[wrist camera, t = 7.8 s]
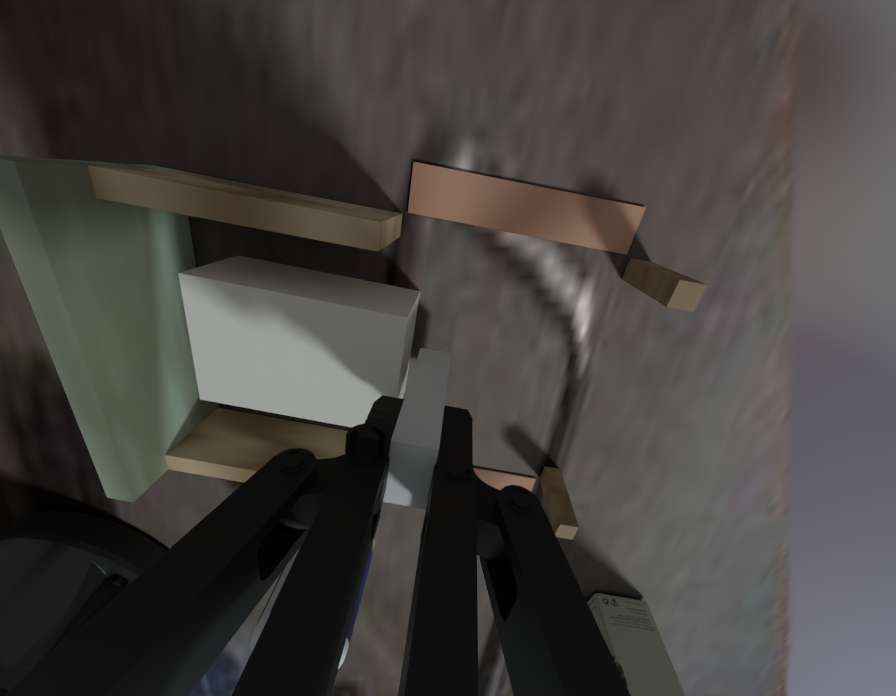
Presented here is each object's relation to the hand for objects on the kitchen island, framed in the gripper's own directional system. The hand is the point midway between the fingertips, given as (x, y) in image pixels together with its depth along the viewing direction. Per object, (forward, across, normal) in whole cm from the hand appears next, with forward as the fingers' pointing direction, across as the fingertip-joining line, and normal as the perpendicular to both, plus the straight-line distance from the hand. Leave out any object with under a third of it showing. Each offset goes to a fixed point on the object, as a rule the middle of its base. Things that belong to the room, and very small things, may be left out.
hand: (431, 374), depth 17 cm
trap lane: (+2, -2, 0) cm, 2 cm away
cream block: (+2, -6, +1) cm, 6 cm away
